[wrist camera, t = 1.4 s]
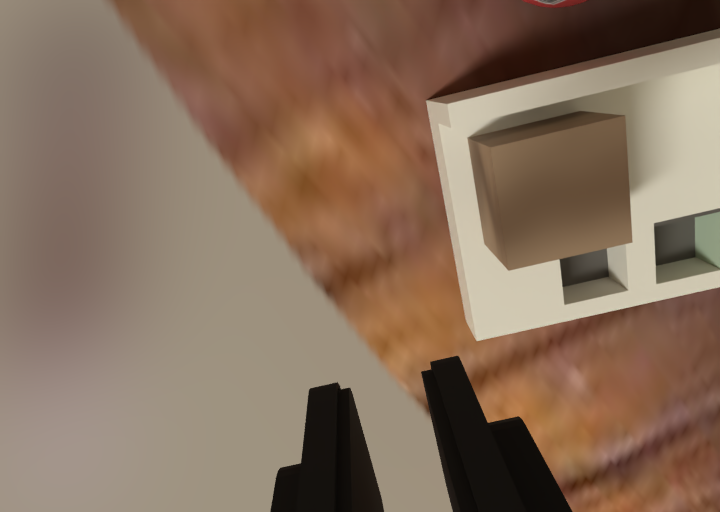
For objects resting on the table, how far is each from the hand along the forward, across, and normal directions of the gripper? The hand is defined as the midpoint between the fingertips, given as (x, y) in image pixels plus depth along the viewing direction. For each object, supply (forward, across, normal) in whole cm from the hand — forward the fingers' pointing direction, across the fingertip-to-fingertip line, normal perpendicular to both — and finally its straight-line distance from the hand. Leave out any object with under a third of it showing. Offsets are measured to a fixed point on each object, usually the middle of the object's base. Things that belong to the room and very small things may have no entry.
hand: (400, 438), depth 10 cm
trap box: (+19, -14, +2) cm, 23 cm away
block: (+17, -8, 0) cm, 19 cm away
